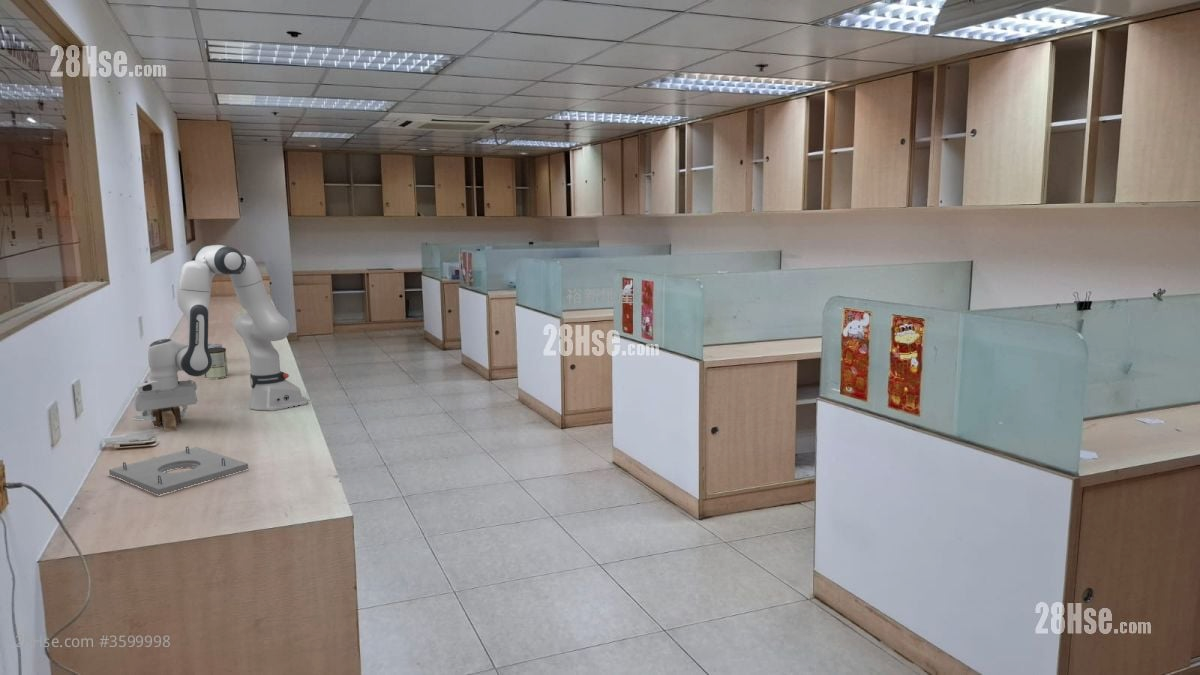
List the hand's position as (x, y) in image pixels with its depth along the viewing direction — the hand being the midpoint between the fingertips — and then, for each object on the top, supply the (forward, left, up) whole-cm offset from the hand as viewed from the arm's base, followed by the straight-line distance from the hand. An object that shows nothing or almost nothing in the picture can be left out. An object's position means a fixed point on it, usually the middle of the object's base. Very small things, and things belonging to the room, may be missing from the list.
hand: (168, 419), depth 280 cm
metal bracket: (+1, -20, -4) cm, 20 cm away
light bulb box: (-32, -122, -4) cm, 127 cm away
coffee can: (-29, -85, -3) cm, 91 cm away
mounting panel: (+3, +59, -4) cm, 60 cm away
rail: (0, 0, -3) cm, 3 cm away
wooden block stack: (0, -7, -3) cm, 8 cm away
